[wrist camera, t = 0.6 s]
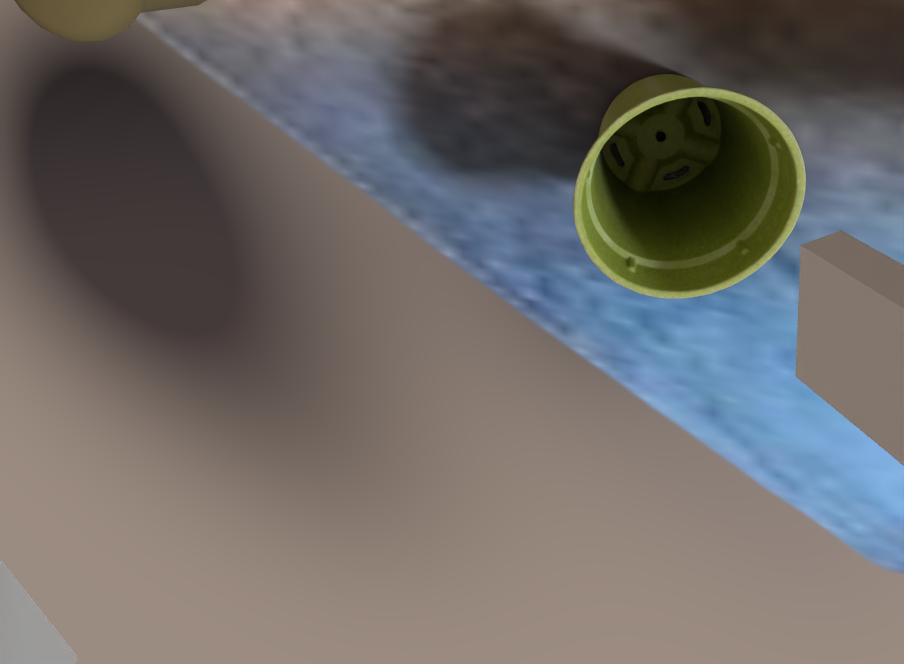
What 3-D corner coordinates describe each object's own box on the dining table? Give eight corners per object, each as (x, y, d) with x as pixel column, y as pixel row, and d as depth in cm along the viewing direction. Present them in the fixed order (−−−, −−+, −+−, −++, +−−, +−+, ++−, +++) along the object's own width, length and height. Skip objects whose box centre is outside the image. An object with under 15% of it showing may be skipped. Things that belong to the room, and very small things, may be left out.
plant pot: (784, 168, 42) (837, 241, 34) (614, 248, 45) (630, 331, 37) (714, 0, 38) (757, 42, 30) (534, 100, 41) (534, 160, 34)
